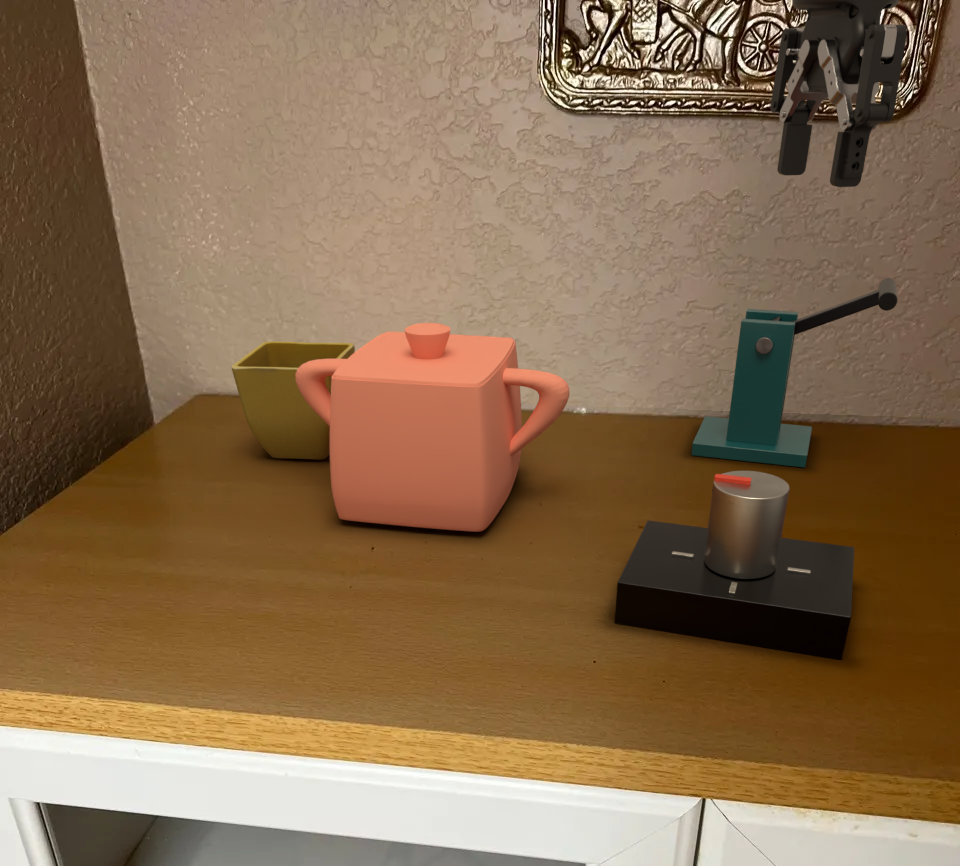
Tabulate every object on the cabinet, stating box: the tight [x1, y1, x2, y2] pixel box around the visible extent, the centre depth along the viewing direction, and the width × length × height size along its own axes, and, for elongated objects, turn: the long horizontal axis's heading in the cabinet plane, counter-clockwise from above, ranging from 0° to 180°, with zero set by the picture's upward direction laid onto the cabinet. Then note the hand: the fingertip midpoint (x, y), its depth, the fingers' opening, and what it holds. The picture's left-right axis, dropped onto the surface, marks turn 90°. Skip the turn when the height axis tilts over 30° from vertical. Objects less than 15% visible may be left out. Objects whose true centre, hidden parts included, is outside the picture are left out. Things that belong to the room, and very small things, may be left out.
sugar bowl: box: [295, 322, 570, 533], centre depth 80 cm, size 20×22×14 cm
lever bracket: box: [690, 308, 813, 468], centre depth 88 cm, size 10×8×12 cm
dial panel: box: [614, 519, 855, 660], centre depth 64 cm, size 14×10×3 cm
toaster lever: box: [769, 277, 898, 336], centre depth 83 cm, size 12×6×2 cm, turn 71°
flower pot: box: [231, 340, 356, 461], centre depth 88 cm, size 9×9×9 cm
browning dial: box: [704, 470, 790, 579], centre depth 62 cm, size 5×5×6 cm
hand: (816, 180), depth 78 cm, fingers open, 8 cm apart
